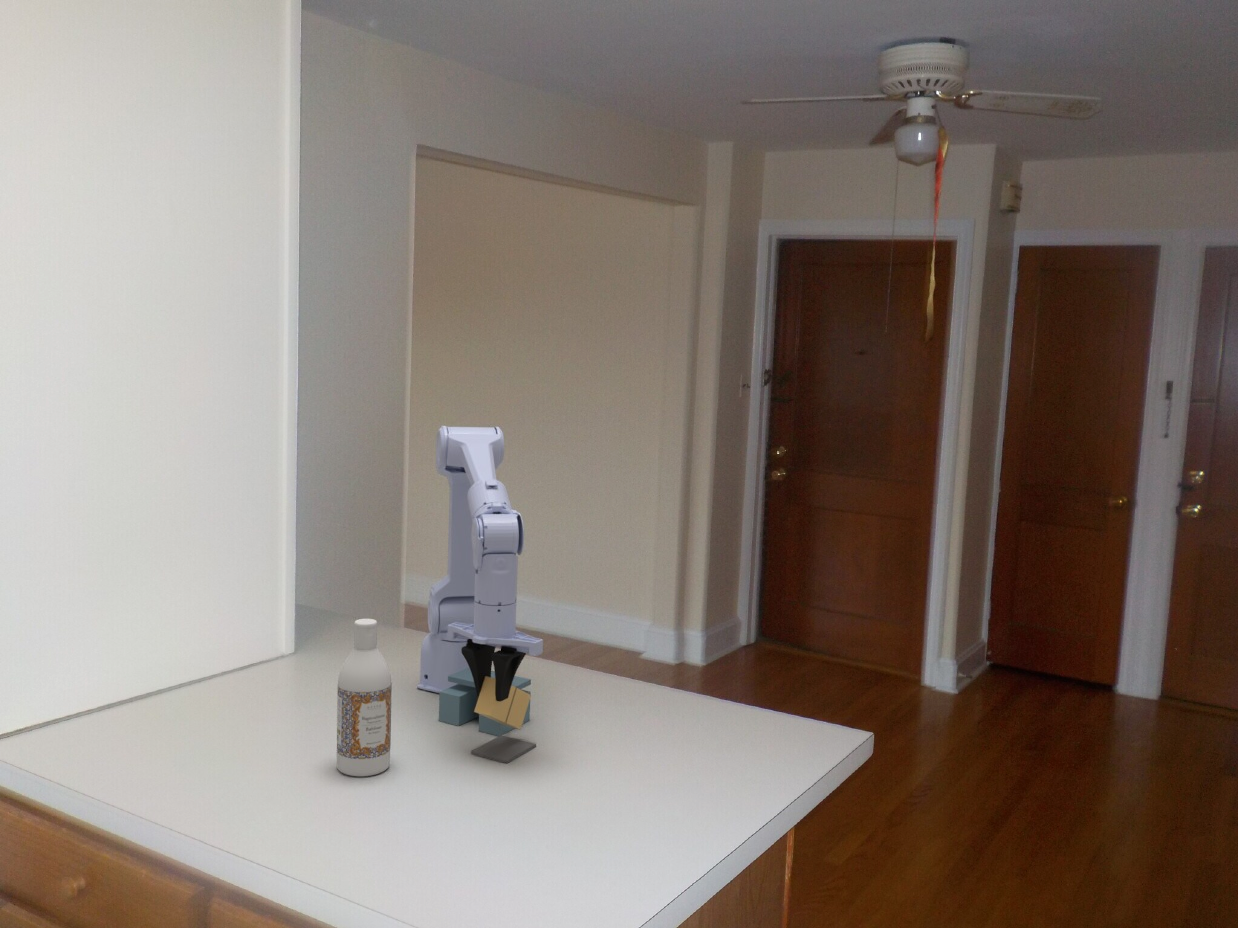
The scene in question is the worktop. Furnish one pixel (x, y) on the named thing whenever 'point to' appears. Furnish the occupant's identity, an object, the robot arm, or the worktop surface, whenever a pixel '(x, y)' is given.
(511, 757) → the pad
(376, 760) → the bath foam
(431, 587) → the robot arm
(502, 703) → the tan grooved block
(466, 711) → the teal block stack
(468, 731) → the worktop surface
